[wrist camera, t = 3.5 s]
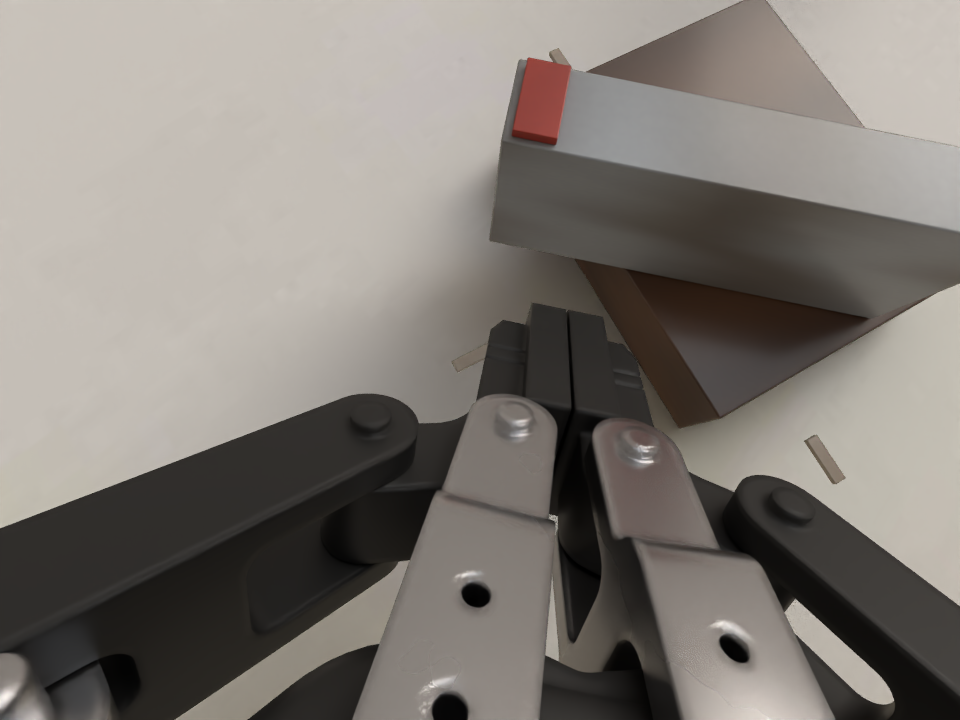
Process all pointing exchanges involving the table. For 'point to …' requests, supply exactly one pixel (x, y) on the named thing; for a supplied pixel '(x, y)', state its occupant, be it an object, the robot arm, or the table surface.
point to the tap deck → (706, 309)
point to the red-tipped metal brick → (725, 193)
